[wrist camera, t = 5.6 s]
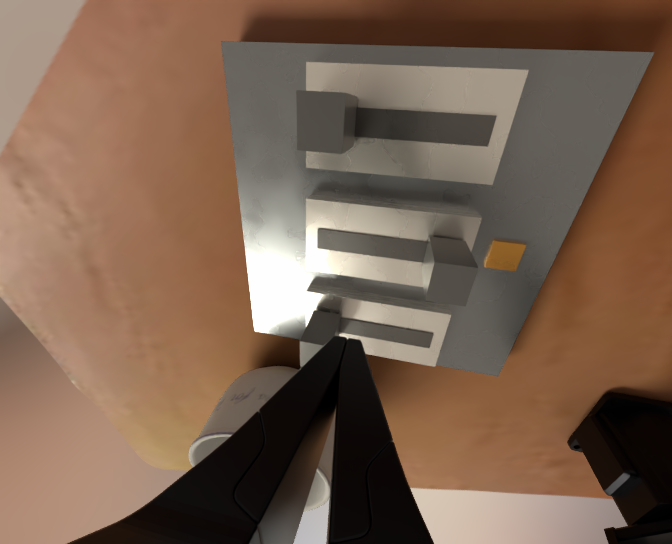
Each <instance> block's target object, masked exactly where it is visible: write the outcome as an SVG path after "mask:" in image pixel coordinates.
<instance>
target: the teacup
mask: <svg viewBox="0 0 672 544" xmlns="http://www.w3.org/2000/svg"><path fill="white" fill-rule="evenodd" d="M297 371H298V369H295V368H291V367H286V366H272V367H263V368H258V369H254V370H251V371H248V372H246V373H244V374H243V375H241V376H240V377H238V378H237V379H236V380H235V381H234V382H233V383H232V384H231V385H230V386H229V387H228V389H227V390H226V391H225V393H224V394H223V396H222V397H221V399H220V401H219V402H218V404H217V405H216V407H215V409H214V410H213V412H212V414H211V415H210V417H209V419H208V421H207V423H206V424H205V426H204V428H203V430H202V431H201V433H200V435H199V437H198V438H197V439H196V440H195V441H194V442H193V443H192V445H191V446H190V449H189V460H190V463H191V465H192V467H194V466H195V465H197V464H198V463H199V462H200V461H202V460H203V459H204V458H205V457H206V456H208V455H209V454H210V453H211V452H213V451H214V450H215V449H216V448H217V447H219V446H220V445H221V444H222V443H223V442H225V441H226V440H227V439H228V438H229V437H230V436H231V435H233V434H234V433H235V432H236V431H237V430H238V429H239V428H240V427H241V426H242V425H243V424H244V423H245V422H246V421H247V420H248V419H249V418H251V417H252V416H253V415H254V414H255V413H256V412H257V411H259V409H260V408H261V407H262V406H263V405H264V404H265V403H266V402H267V401H268V400H269V399H270V398H271V397H272V396H273V395H274V394H275V393H276V392H277V391H278V390H279V389H280V388H281V387H282V386H283V385H284V384H285V383H286V382H287V381H288V380H289V379H290V378H291V377H292V376H293V375H294V374H295V373H296V372H297ZM335 416H336V410H335V414H334V417H333V421H332V424H331V427H330V430H329V433H328V436H327V439H326V443H325V446H324V449H323V452H322V455H321V458H320V461H319V464H318V468H317V471H316V474H315V477H314V480H313V483H312V486H311V489H310V492H309V496H308V499H307V502H306V505H305V508H304V511H309V510H313V509H316V508H318V507H320V506H322V505H323V504H325V503H326V502H327V500H328V499H329V497H330V486H331V472H332V458H333V444H334V430H335Z"/></svg>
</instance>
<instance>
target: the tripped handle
mask: <svg viewBox="0 0 672 544" xmlns="http://www.w3.org/2000/svg"><path fill="white" fill-rule="evenodd" d="M478 269H479V268H478V266H477V264H476V261H475V259H474V257H473V255H472V253H471V251H470V249H469V247H468V245H467V243H466V241H463V240H455V239H446V238H438V237H430V236H429V239H428V244H427V248H426V252H425V257H424V261H423V266H422V279H423V287H424V296H425V300H426V301H433V302H439V303H446V304H452V305H458V306H465V307H466V304H467V301H468V298H469V295H470V292H471V289H472V286H473V283H474V281H475V278H476V275H477V272H478Z"/></svg>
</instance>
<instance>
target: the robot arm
mask: <svg viewBox="0 0 672 544" xmlns="http://www.w3.org/2000/svg"><path fill="white" fill-rule="evenodd" d="M335 410H336V416H335V430H334V444H333V458H332V472H331V486H330V501H329V515H328V529H327V543H326V544H434V542H433V540H432V538H431V536H430V533H429V531H428V529H427V527H426V524H425V522H424V520H423V518H422V515H421V513H420V511H419V509H418V506H417V504H416V501H415V499H414V497H413V494H412V492H411V489H410V487H409V485H408V482H407V480H406V477H405V474H404V471H403V468H402V465H401V463H400V460H399V457H398V454H397V451H396V447H395V444H394V442H392V441H393V439H392V435H391V432H390V429H389V426H388V423H387V420H386V417H385V414H384V410H383V407H382V404H381V401H380V398H379V395H378V392H377V388H376V385H375V382H374V379H373V376H372V373H371V370H370V367H369V363H368V360H367V357H366V354H365V351H364V348H363V345H362V342H361V340H359V339H353V338H348V339H347V338H346V337H342V336H336V335H335V336H333V337H332V338H331V339H330V340H329V341H328V342H327V343H326V344H325V345H324V346H323V347H322V348H321V349H320V350H319V351H318V352H317V353H316V354H315V355H314V356H313V357H312V358H311V359H310V360H309V361H308V362H307V363H306V364H305V365H304V366H303V367H301V368H300V369H299V370H298V371H297V372H296V373H295V374H294V375H293V376H292V377H291V378H290V379H289V380H288V381H287V382H286V383H285V384H284V385H283V386H282V387H281V388H280V389H279V390H278V391H277V392H276V393H275V394H274V395H273V396H272V397H271V398H270V399H269V400H268V401H267V402H266V403H265V404H264V405H263V406H262V407H261V408H260V409H259V411H257V412H256V413H255V414H254V415H253V416H252V417H251V418H249V419H248V420H247V421H246V422H245V423H244V424H243V425H242V426H241V427H240V428H239V429H238V430H237V431H236V432H235V433H234V434H233V435H231V436H230V437H229V438H228V439H227V440H226V441H225V442H223V443H222V444H221V445H220V446H219V447H217V448H216V449H215V450H214V451H213V452H211V453H210V454H209V455H208V456H206V457H205V458H204V459H203V460H202V461H200V462H199V463H198V464H197V465H195V466H194V467H193V468H192V469H190V470H189V471H188V472H187V473H186V474H184V475H183V476H182V477H180V478H179V479H178V480H177V481H175V482H174V483H173V484H172V485H170V486H169V487H168V488H167V489H166V490H164V491H163V492H162V493H161V494H159V495H158V496H157V497H155V498H154V499H153V500H152V501H150V502H149V503H148V504H146V505H145V506H143V507H142V508H140V509H139V510H137V511H136V512H134V513H132V514H131V515H129V516H127V517H125V518H124V519H122V520H120V521H118V522H116V523H114V524H111V525H109V526H107V527H105V528H102V529H100V530H98V531H95V532H93V533H91V534H88V535H86V536H84V537H82V538H79V539H77V540H74V541H72V542H70V543H68V544H293V542H294V539H295V536H296V533H297V529H298V527H299V524H300V521H301V517H302V514H303V511H304V508H305V505H306V502H307V499H308V496H309V492H310V489H311V486H312V483H313V480H314V477H315V474H316V471H317V468H318V464H319V461H320V458H321V455H322V452H323V449H324V446H325V443H326V439H327V436H328V433H329V430H330V427H331V424H332V421H333V417H334V414H335ZM567 443H568V445H569V447H570V449H572V450H574V451H579V452H583V453H584V455H585V457H586V459H587V460H588V462H589V464H590V466H591V468H592V470H593V472H594V474H595V476H596V477H597V479H598V481H599V483H600V485H601V487H602V489H603V490H604V492H605V493H606V494H607V495H608V496H612V497H613V499H614V501H615V503H616V505H617V506H618V508H619V510H620V512H621V514H622V516H623V517H624V519H625V521H626V523H627V525H628V526H626V527H621V528H616V529H615V528H614V527H611V528H606V529H604V531H605V534H606V537H607V540H608V543H609V544H672V403H667V402H662V401H656V400H651V399H645V398H640V397H634V396H629V395H624V394H618V393H607V394H605V395H603V396H602V398H601V399H600V400H599V401H598V403H597V404H596V405H595V407H594V408H593V409H592V410H591V412H590V413H589V414H588V415H587V417H586V418H585V419H584V421H583V422H582V423H581V424H580V426H579V427H578V428H577V430H576V431H575V432H574V433H573V435H572V436H571V437H570V438H569V440H568V441H567Z"/></svg>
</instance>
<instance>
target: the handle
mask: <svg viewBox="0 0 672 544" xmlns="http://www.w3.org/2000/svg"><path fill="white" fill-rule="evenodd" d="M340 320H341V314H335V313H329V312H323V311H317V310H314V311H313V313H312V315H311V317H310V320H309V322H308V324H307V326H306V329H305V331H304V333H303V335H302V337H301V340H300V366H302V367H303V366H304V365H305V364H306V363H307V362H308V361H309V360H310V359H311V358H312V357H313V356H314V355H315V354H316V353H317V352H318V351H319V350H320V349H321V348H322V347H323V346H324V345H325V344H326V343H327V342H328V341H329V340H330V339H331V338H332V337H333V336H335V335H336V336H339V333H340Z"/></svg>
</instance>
